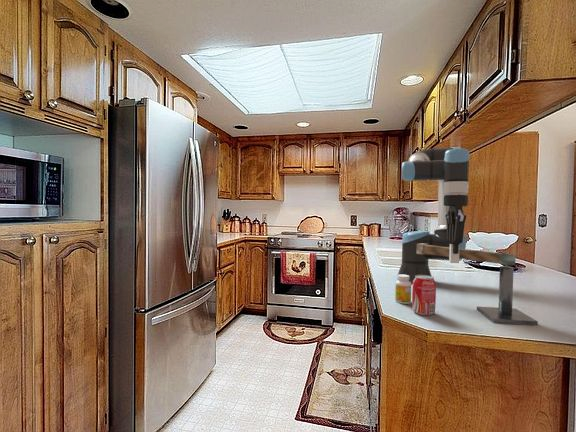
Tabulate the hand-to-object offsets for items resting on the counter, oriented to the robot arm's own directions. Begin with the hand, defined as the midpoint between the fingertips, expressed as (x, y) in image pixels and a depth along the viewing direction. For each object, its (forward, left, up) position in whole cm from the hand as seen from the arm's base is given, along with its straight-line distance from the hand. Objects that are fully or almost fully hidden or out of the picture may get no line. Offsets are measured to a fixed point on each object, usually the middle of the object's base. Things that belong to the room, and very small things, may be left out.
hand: (454, 262), depth 111 cm
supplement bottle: (-3, -16, -16) cm, 23 cm away
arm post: (+8, +13, -16) cm, 22 cm away
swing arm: (-2, +3, +1) cm, 4 cm away
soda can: (+8, -12, -16) cm, 21 cm away
